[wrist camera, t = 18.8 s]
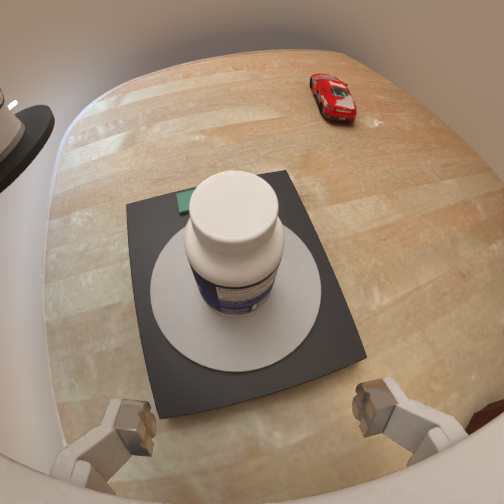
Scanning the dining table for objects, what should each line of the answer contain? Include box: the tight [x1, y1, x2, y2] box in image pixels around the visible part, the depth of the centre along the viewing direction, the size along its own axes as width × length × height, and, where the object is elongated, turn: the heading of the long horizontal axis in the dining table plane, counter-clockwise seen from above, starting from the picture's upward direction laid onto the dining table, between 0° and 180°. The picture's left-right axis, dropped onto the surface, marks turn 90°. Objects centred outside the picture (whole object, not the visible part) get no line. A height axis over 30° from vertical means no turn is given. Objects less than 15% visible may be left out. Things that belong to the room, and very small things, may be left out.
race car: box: [310, 74, 356, 123], centre depth 37 cm, size 13×5×4 cm, turn 0°
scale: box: [126, 170, 367, 419], centre depth 23 cm, size 16×19×3 cm
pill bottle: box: [184, 171, 285, 317], centre depth 17 cm, size 5×5×10 cm
